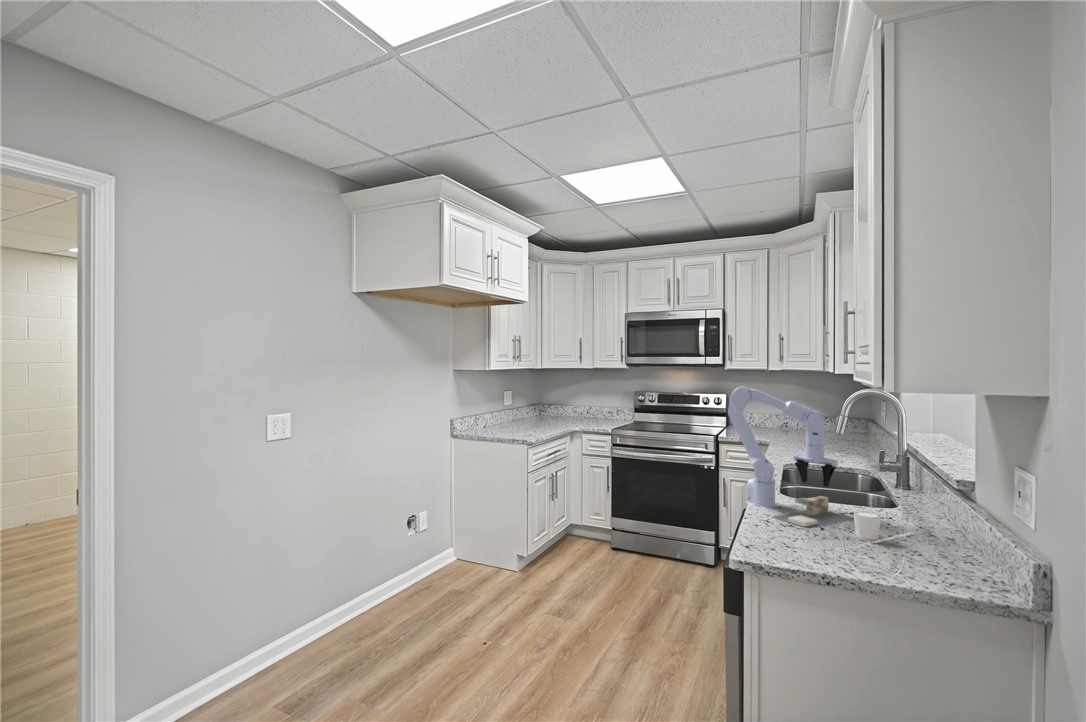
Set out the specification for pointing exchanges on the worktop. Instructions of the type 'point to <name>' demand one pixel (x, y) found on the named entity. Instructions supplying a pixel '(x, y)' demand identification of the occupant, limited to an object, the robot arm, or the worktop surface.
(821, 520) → the mat
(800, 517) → the tile
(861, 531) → the white cup
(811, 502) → the turner
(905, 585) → the worktop surface
